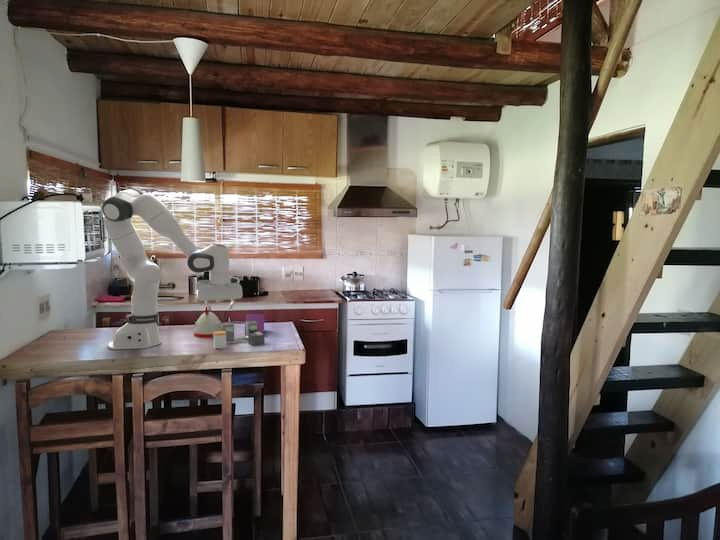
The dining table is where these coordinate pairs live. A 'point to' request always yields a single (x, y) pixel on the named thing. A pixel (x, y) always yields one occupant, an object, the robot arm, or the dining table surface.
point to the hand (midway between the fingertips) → (220, 309)
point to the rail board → (229, 329)
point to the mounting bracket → (258, 318)
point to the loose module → (219, 339)
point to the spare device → (256, 339)
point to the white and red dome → (207, 325)
